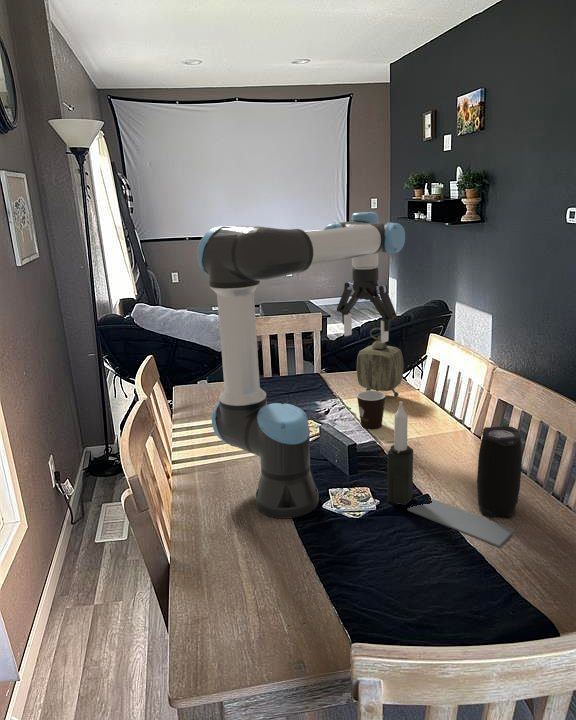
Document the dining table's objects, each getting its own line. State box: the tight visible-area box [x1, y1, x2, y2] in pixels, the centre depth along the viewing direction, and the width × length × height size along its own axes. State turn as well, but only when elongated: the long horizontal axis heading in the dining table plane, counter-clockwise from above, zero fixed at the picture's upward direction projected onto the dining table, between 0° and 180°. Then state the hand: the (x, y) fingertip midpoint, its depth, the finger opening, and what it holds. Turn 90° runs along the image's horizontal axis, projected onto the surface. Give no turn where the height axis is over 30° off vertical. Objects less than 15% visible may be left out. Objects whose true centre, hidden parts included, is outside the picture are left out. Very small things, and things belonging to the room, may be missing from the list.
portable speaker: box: [476, 424, 523, 519], centre depth 131 cm, size 9×9×20 cm
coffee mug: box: [356, 390, 386, 431], centre depth 183 cm, size 12×9×10 cm
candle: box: [387, 400, 414, 504], centre depth 136 cm, size 5×5×25 cm
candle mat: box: [407, 498, 516, 548], centre depth 130 cm, size 8×22×1 cm, turn 46°
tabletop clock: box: [356, 327, 404, 397], centre depth 204 cm, size 14×9×25 cm, turn 58°
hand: (365, 338), depth 176 cm, fingers open, 13 cm apart
